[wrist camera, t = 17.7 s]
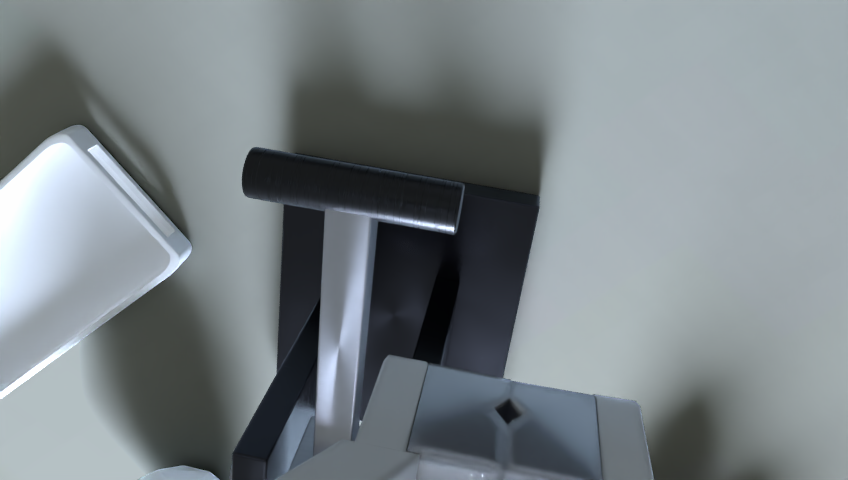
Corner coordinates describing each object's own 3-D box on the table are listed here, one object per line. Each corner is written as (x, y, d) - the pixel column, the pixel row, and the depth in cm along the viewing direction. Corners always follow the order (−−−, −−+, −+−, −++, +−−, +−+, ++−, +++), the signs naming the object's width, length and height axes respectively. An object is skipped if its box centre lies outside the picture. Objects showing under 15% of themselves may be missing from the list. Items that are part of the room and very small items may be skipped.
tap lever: (268, 129, 18) (230, 169, 16) (470, 164, 17) (457, 210, 15) (266, 468, 24) (239, 529, 22) (415, 500, 24) (401, 565, 22)
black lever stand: (294, 152, 30) (135, 317, 18) (540, 195, 29) (534, 396, 17) (283, 388, 35) (154, 629, 24) (489, 429, 34) (460, 701, 23)
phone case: (5, 392, 38) (199, 249, 32) (-13, 408, 37) (185, 264, 31) (-108, 287, 36) (78, 116, 30) (-131, 301, 35) (59, 126, 29)
